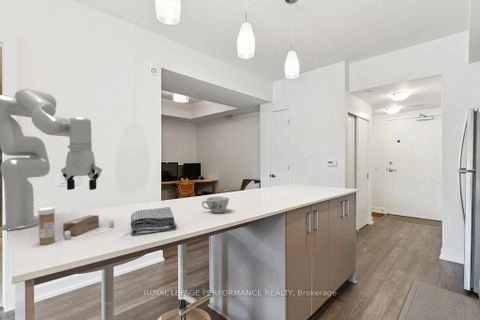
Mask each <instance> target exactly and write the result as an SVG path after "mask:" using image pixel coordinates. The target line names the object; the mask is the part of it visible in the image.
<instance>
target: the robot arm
mask: <svg viewBox="0 0 480 320" xmlns="http://www.w3.org/2000/svg"><path fill="white" fill-rule="evenodd" d="M56 107H57V101H56V98H55V97H54V96H53V95H52V94H49V93H46V92H42V91H38V90H33V89H29V88H28V89H27V88H21V89H19V90H17V91H16V92H15V94H14V96H13V95H6V94H0V150H1V152H2V154H4V155H6V156H9V157H10V156H11V158H8V159H5V160H4V161H2V162H1V164H0V172H1V175H2V179H3V184H4V185H3V186H4V208H5V211H4V212H5V213H4V214H5V224H3V225H1V226H0V230H1V231H17V230H24V229H28V228H32V227H35V226H37V225H39V220H37V219H36V220H35V217H34V216H35V206H34V205H35V204H34V187H33V184H32V183H31V181H29V178H40V177H45V176H47V175H49V173H50V171H51V170H50V169H51V165H50V160H49V156H48V152H47V149H46V148H47V147H46V145H45V142H44V141H43V140H42V139H41V138H39V137H37V136H29V135H24V132H23V131H22V130H23V129H22V127H21V124H20V123H19V122H18V121H17V120H16V119H15V118H14V117H12V116H15V117H16V116H18V117H24V118H25V117H26V118H31V123H32V124H33V125H34V127H35V128H36V129H38V130H39V131H41V132H42V133H43V134H46V135H48V136H57V137H69V138H68V139H69V145H68V147H67V149H69V151H67V154H66V159H65V167H63V168H61V169H60V171H61V173H62V177H64V179H65V180H66V189H67V191H70V190H75V187H76V186H75V183H76V182H75V179H74V178H75V177H81V176H82V177H84V176H87V177H88V178H89V179H90V180H89V181H88V184H89V185H88V188H89V191H93V190H97V180H98V179H99V177H100V176H101V175H102V174H101V173H102V172H103V169H102V168H101V167H99V166H97V165H96V161H95V159H96V158H95V154H94V151H92V150H93V149H92V148H93V147H92V144H93V143H92V122H91V120H90V119H89V118H87V117H80V116H78V117H70V118H65V117H59V116H55V114H56V113H57V112H56V109H57V108H56ZM8 229H10V230H8Z"/></svg>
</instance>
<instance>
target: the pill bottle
mask: <svg viewBox="0 0 480 320" xmlns="http://www.w3.org/2000/svg"><path fill="white" fill-rule="evenodd" d="M37 211H38V213H37V214H38V236H39V246H49V245H52V244H54V243H55V235H56V233H55V232H56V226H55V224H56V223H55V211H56V210H55V207H54V206H53V207H52V206H49V207H41V208H38V210H37Z"/></svg>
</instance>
